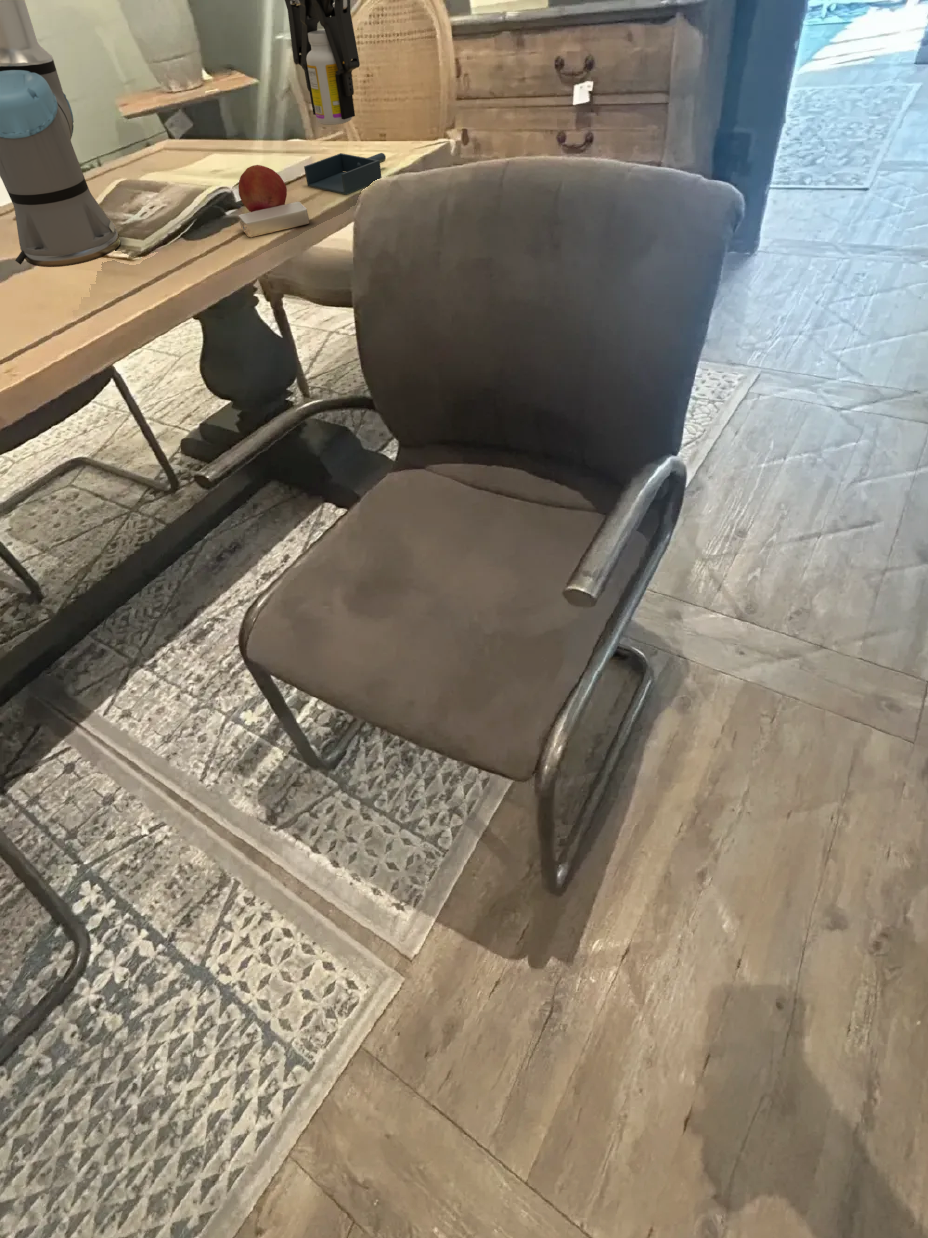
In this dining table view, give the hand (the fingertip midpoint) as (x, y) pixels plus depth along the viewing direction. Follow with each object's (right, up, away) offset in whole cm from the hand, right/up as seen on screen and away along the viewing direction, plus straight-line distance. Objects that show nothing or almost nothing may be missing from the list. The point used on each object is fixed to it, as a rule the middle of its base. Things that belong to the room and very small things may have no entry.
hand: (334, 115), depth 131 cm
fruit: (-11, -13, -6) cm, 18 cm away
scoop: (+3, -6, +10) cm, 12 cm away
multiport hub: (-9, -23, -9) cm, 26 cm away
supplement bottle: (0, -1, +1) cm, 1 cm away
